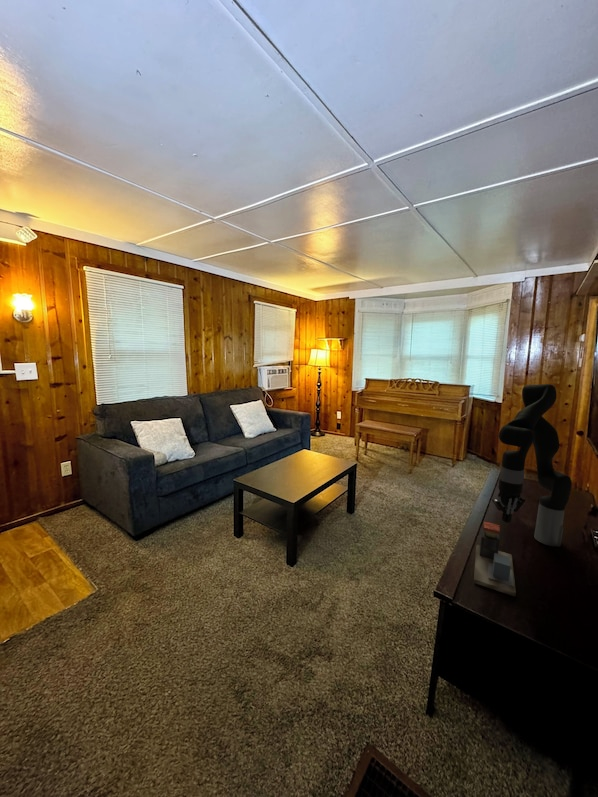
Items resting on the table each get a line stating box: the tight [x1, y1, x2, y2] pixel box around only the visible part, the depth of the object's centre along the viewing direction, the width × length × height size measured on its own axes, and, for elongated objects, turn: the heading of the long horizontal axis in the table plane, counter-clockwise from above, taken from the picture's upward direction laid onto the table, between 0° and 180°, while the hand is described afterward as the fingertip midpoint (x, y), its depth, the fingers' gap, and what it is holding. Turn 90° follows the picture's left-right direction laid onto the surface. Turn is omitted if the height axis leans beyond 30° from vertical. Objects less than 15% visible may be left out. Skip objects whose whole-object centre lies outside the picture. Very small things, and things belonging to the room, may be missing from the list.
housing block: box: [493, 553, 511, 581], centre depth 122 cm, size 5×6×6 cm
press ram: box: [482, 521, 501, 540], centre depth 133 cm, size 6×6×7 cm
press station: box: [473, 529, 517, 598], centre depth 126 cm, size 13×25×10 cm, turn 150°
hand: (506, 521), depth 123 cm, fingers closed
